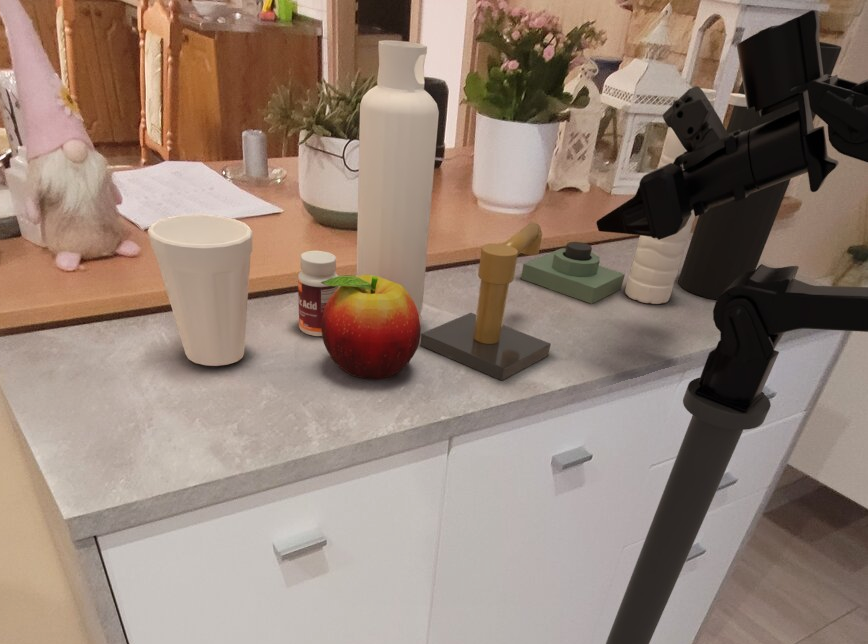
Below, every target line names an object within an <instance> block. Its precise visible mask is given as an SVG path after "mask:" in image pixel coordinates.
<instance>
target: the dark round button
mask: <svg viewBox="0 0 868 644" xmlns="http://www.w3.org/2000/svg"><path fill="white" fill-rule="evenodd" d="M565 248H566V251H565V255H564V256H565V257H567V258H569V259H573V260H579V261H588V260H589V259H590V254H591V252H592V250H593V249H592V248H593V247H592V245H590V244H588V243H586V242H580V241H570V242H567V243H566V246H565Z"/></svg>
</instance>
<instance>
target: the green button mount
mask: <svg viewBox="0 0 868 644" xmlns="http://www.w3.org/2000/svg"><path fill="white" fill-rule="evenodd" d="M565 251H566V247H563V248H558V249H556V250H554V251H553V252H550V253H547V254H545V255H542V256H539V257H537V258H534V259H532V260H530V261H526V262H524V263H523V264H522V270H521V274H520V275H521V276H520V280H523V281H526V282H529V283H532V284H534V285H537V286H540V287H543V288H545V289H548V290H550V291H551V290H552V291H554V292H556V293H559V294H563V295H565V296H568V297H571V298H574V299H577V300H579V301H582V302H585V303H588V304H594V303H596V302H598V301H601V300H603V299H604V298H607V297H609V296H610V295H612V294H614V293H616V292H618V291H620V290H622V287H623V283H624V279H625V276H626V274H625V273H623V272H620V271H618V270H614V269H611V268H608V267H605V266H601V265H600V261H601V260H600V259H601V258H600V256H599V255H597V254H596V253H594V252H592V251H591V254H590V259H589V260H588V261H579V260H573V259H569V258H567V257H565V256H564V255H565Z"/></svg>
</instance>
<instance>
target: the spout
mask: <svg viewBox="0 0 868 644" xmlns="http://www.w3.org/2000/svg"><path fill="white" fill-rule="evenodd" d="M542 239H543V232H542V228H541V225H540V224H539V223H537V222H535V221H533V222H532V221H531V222H530V223H528V224H526V225H525V226H523V227H522V228H521V229H520V230H519V231H517V232H516V233H514V234H513V235H512V236H511V237H509V238H508V239H507V240H506V241H504V242H503V243H486V244H484V245H482V247H481V251H480V256H479V257H480V258H479V266H478V272H477V277H478V278H479V279H480V281H481V280H483V281H486V282H489V283H493V284H508V283H509V284H511V283H512V282H513V281H514V280H515V279H514V278H515V273H516V266H517V259H518V256H519V255H520V254H522V255H523V254H524V255H527V256H537V255H539V254H540V249H541V244H542Z"/></svg>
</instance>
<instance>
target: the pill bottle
mask: <svg viewBox="0 0 868 644" xmlns="http://www.w3.org/2000/svg"><path fill="white" fill-rule="evenodd" d="M299 267H300V270H301V271H300V272H299V273H298V275H297V296H298V297H297V299H298V300H297V301H298V304H297V305H298V327H299V329H300V330H301V331H302V332H303V333H304V334H306V335H309V336H313V337H322V330H321V329H322V318H323V313H324V309H325V306H326V304H327V302H328V300H329V299H330V297H331V296H332V295H333V294H334V292H335V291H336V290H337V289H338V288H339V287H340V286H327V285H324V284H322V283H321V282H323V281H326V280H328V279H331V278H334V277H339V274H338V273H337V272H336V271H337V257H336V255H334V254H333V253H331V252H329V251H324V250H307V251H304V252H302V253H301V254H300V266H299Z"/></svg>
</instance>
